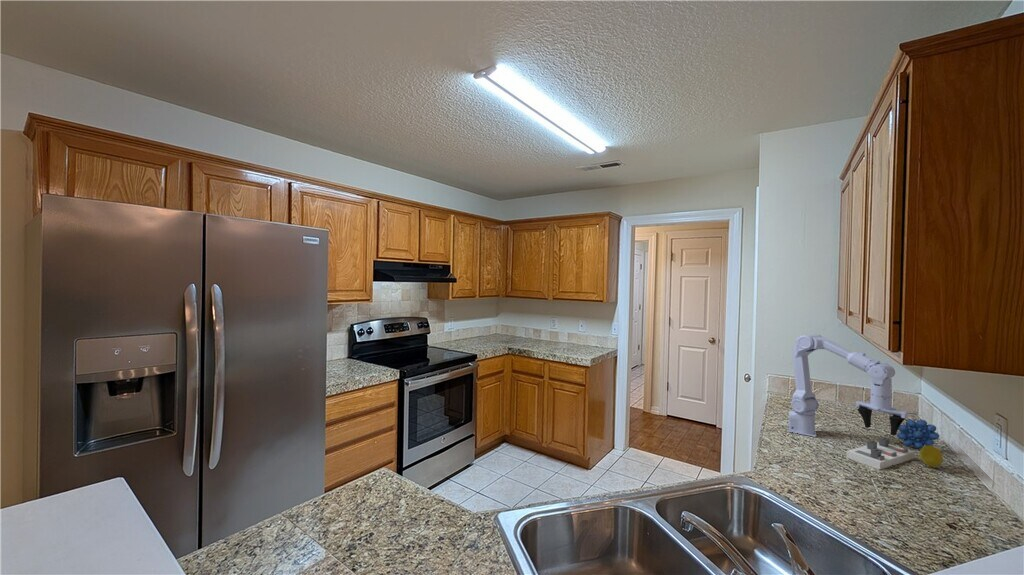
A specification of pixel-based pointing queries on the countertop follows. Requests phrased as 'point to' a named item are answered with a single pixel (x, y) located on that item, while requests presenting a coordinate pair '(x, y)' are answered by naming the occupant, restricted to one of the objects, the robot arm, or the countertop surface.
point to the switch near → (875, 453)
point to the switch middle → (872, 444)
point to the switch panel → (887, 458)
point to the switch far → (883, 441)
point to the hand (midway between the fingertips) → (880, 430)
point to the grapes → (917, 433)
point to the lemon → (931, 456)
